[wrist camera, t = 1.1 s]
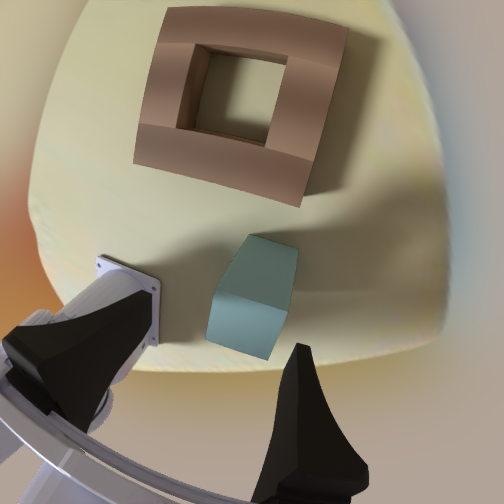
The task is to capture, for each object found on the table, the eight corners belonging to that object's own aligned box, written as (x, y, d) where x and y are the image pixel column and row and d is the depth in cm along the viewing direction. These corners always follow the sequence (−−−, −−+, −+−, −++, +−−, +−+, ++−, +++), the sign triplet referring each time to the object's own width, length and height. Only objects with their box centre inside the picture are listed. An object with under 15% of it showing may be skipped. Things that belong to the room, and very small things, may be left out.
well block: (301, 196, 20) (299, 207, 17) (154, 158, 21) (133, 163, 18) (344, 42, 14) (349, 28, 11) (185, 19, 15) (167, 7, 13)
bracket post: (284, 291, 23) (267, 360, 16) (238, 276, 23) (205, 339, 16) (299, 249, 21) (288, 311, 14) (249, 234, 22) (215, 287, 15)
